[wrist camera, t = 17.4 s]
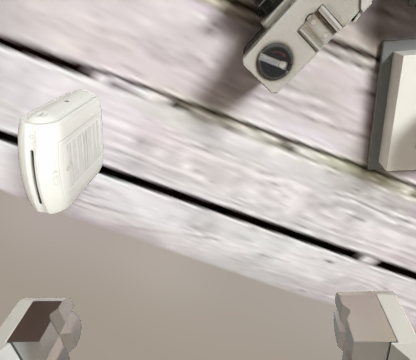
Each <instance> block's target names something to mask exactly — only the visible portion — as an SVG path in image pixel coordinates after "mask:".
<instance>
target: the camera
mask: <svg viewBox="0 0 416 360" xmlns="http://www.w3.org/2000/svg"><path fill="white" fill-rule="evenodd" d="M253 1H254V2H255V4H256V5H257V6H258V7H259V10H258V12H257V15H258V16H259V17H260V16H262V15H264V14H265V15H264V16H265V17H264V18H263V20H262V21H261V24H262V25H263V26H264V27H263V28H262V29H261V30H260V31H259V32H258V33H257V34H256V35H255V37H254V38H253V39H252V40H251V41H250V42H249V43H248V44H247V46H246V47H245V48H244V53H243V57H242V62H243V65H244V66H245V67H246V68H247V69H248V70H249V71H250V72H251V73H252V74H253V75H254V76H255V77H256V78H257V79H258V80H259V81H260V82H261V83H262V84H263V85H264V86H265V87H266V88H267V89H268V90H269V91H270V92H271V93H277V92H278V91H279V90H281V89H282V88H283V87H284V86H285V85H286V84H287V83H288V82H289V81H290V80H291V79H292V78H293V77H294V76H295V75H296V74H297V73H298V72H299V71H300V70H301V69H302V68H303V67H304V66H305V65H306V64H307V63H308V62H309V61H310V60H311V59H312V58H313V57H314V56H315V55H316V54H317V52H318V51H319V50H320V49H321V48H322V47H323V46H324V45H326V44H327V43H328V42H329V41H330V40H331V39H332V38H333V37H334V36H335V35H336V34H337V33H338V32H339V31H340V30H341V29H342V28H343V27H344V26H346V25H347V24H348V23H349V22H350V21H352V22H356V20H357V19H358V18H359V16H360V15H361V14H362V13H363V12H364V11H365V10H366V9H367V8H368V7H369V6H370V5H371V4H372V0H253Z"/></svg>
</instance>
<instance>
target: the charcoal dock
mask: <svg viewBox="0 0 416 360" xmlns="http://www.w3.org/2000/svg"><path fill="white" fill-rule="evenodd" d="M408 6H416V0H409V4H408Z"/></svg>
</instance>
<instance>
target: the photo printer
mask: <svg viewBox="0 0 416 360" xmlns="http://www.w3.org/2000/svg"><path fill="white" fill-rule="evenodd" d="M18 155H19V164H20V170H21V176H22V180H23V184H24V188H25V191H26V194H27V196H28V199H29V201H30V203H31V204H32V206H33V208H34V209H35V210H36V211H37V212H45V213H48V214H53V213H57V212H60V211H63V210H65V209H66V208H68V207H69V206H70V205H71V204H72V203H73V201H74V200H75V199H76V198H77V197H78V195H79V194H80V193H81V192H82V191H83V189H84V188H85V187H86V186H87V185H88V184H89V182H90V181H91V180H92V179H93V178H94V177H95V175H96V174H97V173H98V172H99V171H100V169H101V167H102V162H103V137H102V115H101V105H100V100H99V97H98V96H96V95H95V94H94V93H92V92H91V91H88V90H84V89H79V90H76V91H74V92H72V93H70V92H69V93H66V94H64V95H62V96H60V97H58V98H56V99H54V100H52V101H50V102H48V103H47V104H45V105H43V106H41V107H39V108H37V109H35V110H33V111H31V112H30V113H28V114H26V115H24V116H23V117H22V118H21V119H20V123H19V129H18Z"/></svg>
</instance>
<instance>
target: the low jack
mask: <svg viewBox="0 0 416 360" xmlns="http://www.w3.org/2000/svg"><path fill="white" fill-rule="evenodd" d="M367 169H368V170H374V169H385V170H386V171H402V170H416V38H413V39H402V40H392V41H382V45H381V54H380V62H379V70H378V79H377V87H376V95H375V104H374V112H373V120H372V128H371V137H370V145H369V153H368V162H367Z"/></svg>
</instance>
